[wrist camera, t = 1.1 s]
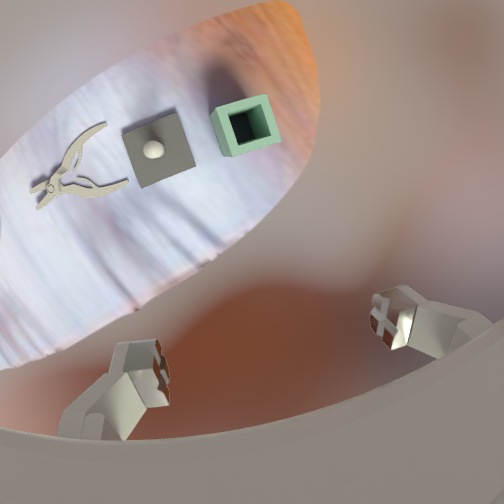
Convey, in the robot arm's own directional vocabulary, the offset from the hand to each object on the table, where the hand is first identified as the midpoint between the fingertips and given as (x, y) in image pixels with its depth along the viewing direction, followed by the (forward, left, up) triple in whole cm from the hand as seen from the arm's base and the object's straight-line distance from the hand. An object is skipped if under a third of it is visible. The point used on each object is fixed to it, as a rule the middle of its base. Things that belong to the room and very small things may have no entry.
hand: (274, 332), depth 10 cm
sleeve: (+7, +7, -32) cm, 34 cm away
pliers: (-17, +10, -33) cm, 38 cm away
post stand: (-4, +8, -32) cm, 33 cm away
